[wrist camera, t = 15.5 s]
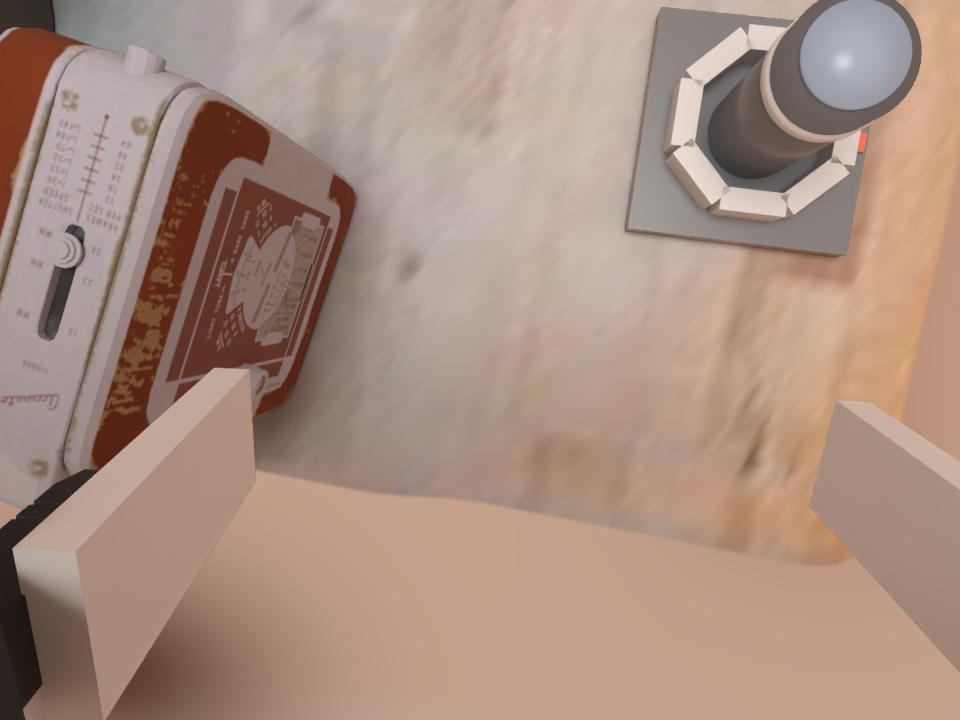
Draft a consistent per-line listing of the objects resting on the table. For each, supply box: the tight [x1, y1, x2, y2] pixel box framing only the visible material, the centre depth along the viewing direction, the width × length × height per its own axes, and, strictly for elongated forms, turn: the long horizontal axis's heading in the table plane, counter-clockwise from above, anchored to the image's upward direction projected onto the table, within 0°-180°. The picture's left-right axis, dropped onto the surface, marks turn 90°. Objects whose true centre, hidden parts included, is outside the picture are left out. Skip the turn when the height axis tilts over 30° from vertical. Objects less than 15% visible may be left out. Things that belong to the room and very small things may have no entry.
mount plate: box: [625, 7, 870, 257], centre depth 35 cm, size 12×12×3 cm
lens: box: [707, 0, 922, 179], centre depth 30 cm, size 5×5×11 cm
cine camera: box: [0, 27, 355, 510], centre depth 30 cm, size 9×19×20 cm, turn 160°
